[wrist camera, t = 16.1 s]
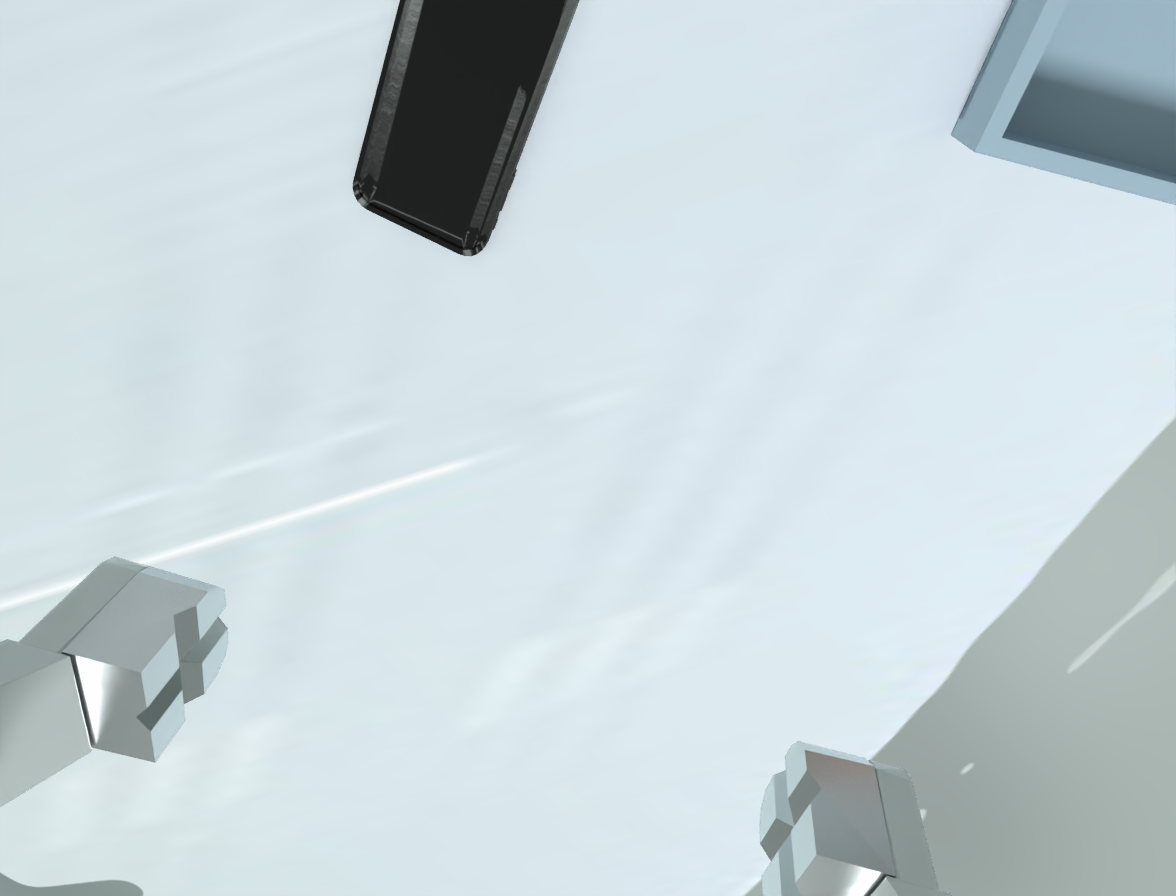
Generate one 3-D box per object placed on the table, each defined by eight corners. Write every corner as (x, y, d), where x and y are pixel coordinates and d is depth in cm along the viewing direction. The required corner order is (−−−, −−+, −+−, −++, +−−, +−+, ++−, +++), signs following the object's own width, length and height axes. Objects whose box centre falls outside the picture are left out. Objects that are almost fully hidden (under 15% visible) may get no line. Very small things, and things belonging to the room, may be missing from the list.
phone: (348, 200, 42) (427, -109, 34) (356, 195, 43) (435, -107, 35) (479, 264, 43) (588, -24, 35) (485, 257, 44) (592, -24, 36)
